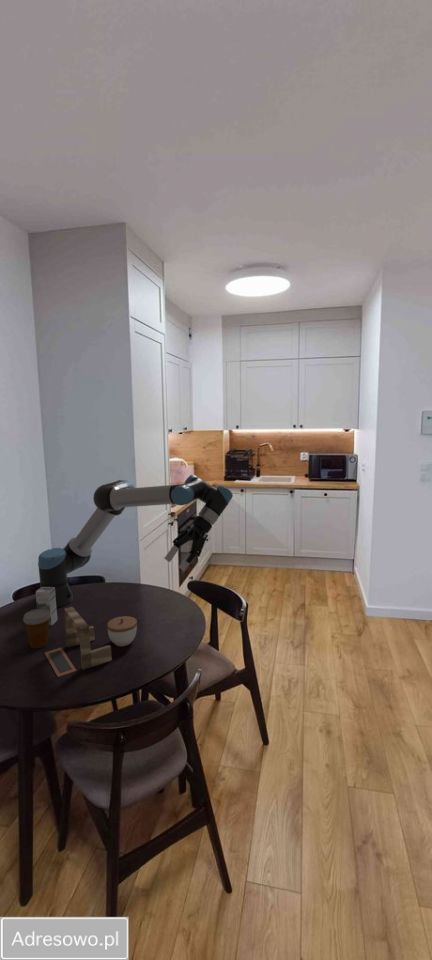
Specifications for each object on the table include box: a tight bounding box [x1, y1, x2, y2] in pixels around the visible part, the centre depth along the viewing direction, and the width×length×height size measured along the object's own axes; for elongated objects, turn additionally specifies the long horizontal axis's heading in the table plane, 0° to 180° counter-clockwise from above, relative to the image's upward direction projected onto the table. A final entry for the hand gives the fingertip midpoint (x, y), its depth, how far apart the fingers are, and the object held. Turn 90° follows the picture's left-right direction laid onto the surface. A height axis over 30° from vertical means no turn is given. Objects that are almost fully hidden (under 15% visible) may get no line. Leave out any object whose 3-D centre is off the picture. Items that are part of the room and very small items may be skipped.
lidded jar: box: [106, 615, 138, 647], centre depth 167 cm, size 11×11×9 cm
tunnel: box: [63, 606, 113, 671], centre depth 159 cm, size 19×10×14 cm, turn 34°
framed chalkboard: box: [44, 647, 77, 678], centre depth 155 cm, size 18×6×1 cm, turn 34°
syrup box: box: [35, 587, 58, 627], centre depth 183 cm, size 6×6×14 cm
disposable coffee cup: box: [22, 608, 51, 649], centre depth 166 cm, size 10×10×12 cm
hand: (173, 564), depth 175 cm, fingers open, 13 cm apart
